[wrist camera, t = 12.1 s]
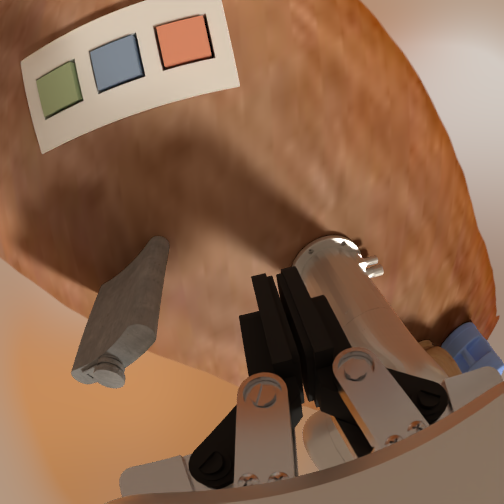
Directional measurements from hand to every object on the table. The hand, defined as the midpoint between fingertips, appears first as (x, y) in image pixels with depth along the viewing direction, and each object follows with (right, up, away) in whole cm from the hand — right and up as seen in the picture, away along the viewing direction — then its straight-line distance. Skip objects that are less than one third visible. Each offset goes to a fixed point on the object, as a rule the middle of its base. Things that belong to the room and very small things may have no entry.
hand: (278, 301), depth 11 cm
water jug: (+66, -26, +62) cm, 94 cm away
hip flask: (-19, -1, +31) cm, 37 cm away
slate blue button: (-17, +24, +15) cm, 33 cm away
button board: (-17, +25, +16) cm, 34 cm away
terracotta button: (-9, +26, +15) cm, 32 cm away
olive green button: (-24, +22, +15) cm, 36 cm away
